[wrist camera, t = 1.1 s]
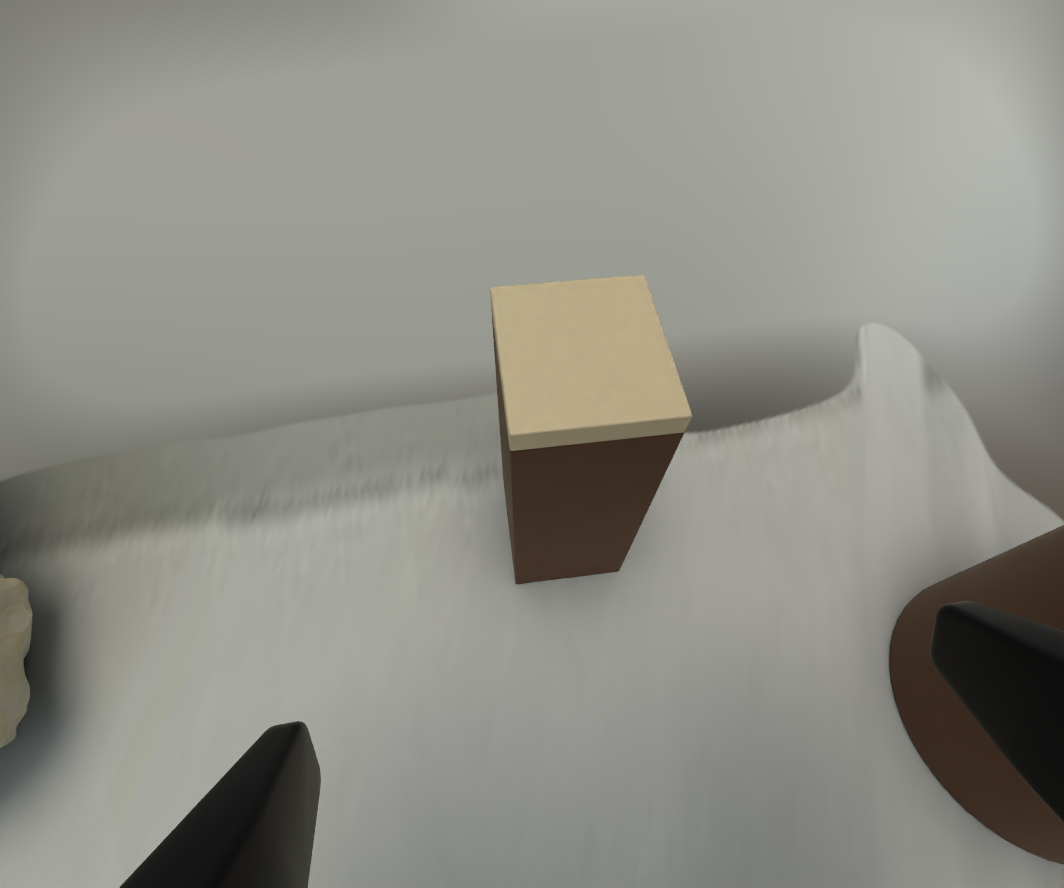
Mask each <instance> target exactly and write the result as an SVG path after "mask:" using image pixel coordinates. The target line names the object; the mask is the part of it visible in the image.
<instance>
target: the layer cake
mask: <svg viewBox="0 0 1064 888" xmlns="http://www.w3.org/2000/svg"><path fill="white" fill-rule="evenodd" d="M962 601H973V602H977V603H980V604H983V605H986V606H989V607H992V608H995V609H998V610H1002V611H1005V612H1008V613H1011V614H1014V615H1017V616H1020V617H1023V618H1027V619H1030V620H1033V621H1036V622H1039V623H1042V624H1045V625H1048V626H1051V627H1055V628H1058V629H1061V630H1064V525H1063V526H1061V527H1058V528H1056V529H1054V530H1052V531H1050V532H1048V533H1045V534H1043V535H1041V536H1039V537H1037V538H1034V539H1032V540H1030V541H1028V542H1026V543H1023V544H1021V545H1019V546H1017V547H1015V548H1012V549H1010V550H1008V551H1006V552H1004V553H1002V554H999V555H997V556H995V557H993V558H991V559H988V560H986V561H984V562H982V563H980V564H977V565H975V566H973V567H971V568H969V569H966V570H964V571H962V572H960V573H958V574H955V575H953V576H951V577H949V578H947V579H945V580H942V581H940V582H938V583H936V584H934V585H932V586H930V587H928V588H926V589H924V590H923V591H922V592H920V593H919V594H918V595H917V596H915V597H914V598H913V599H912V600H911V601H910V603H909V604H908V605H907V606H906V607H905V609H904V611H903V612H902V614H901V616H900V617H899V619H898V622H897V624H896V627H895V630H894V633H893V637H892V643H891V649H890V670H891V681H892V686H893V690H894V695H895V699H896V702H897V705H898V708H899V711H900V714H901V717H902V719H903V722H904V724H905V726H906V728H907V731H908V733H909V735H910V737H911V739H912V741H913V742H914V744H915V746H916V748H917V749H918V751H919V753H920V755H921V756H922V758H923V759H924V761H925V762H926V763H927V765H928V766H929V768H930V769H931V771H932V772H933V773H934V775H935V776H936V777H937V778H938V780H939V781H940V782H941V783H942V784H943V786H944V787H945V788H946V789H947V790H948V791H949V793H950V794H951V795H952V796H953V797H954V798H955V799H956V800H957V801H958V802H959V803H960V804H961V805H962V806H963V807H964V808H965V809H966V810H967V811H969V812H970V813H971V814H972V815H973V816H975V817H976V818H977V819H978V820H979V821H981V822H982V823H983V824H984V825H986V826H987V827H988V828H990V829H991V830H993V831H994V832H996V833H997V834H998V835H1000V836H1001V837H1003V838H1004V839H1006V840H1007V841H1009V842H1011V843H1013V844H1015V845H1016V846H1018V847H1020V848H1022V849H1024V850H1026V851H1028V852H1030V853H1032V854H1035V855H1037V856H1040V857H1042V858H1044V859H1047V860H1050V861H1053V862H1057V863H1060V864H1064V823H1063V822H1062V821H1061V820H1060V819H1059V818H1058V817H1057V815H1056V814H1055V813H1054V812H1053V811H1052V810H1051V809H1050V808H1049V807H1048V806H1047V805H1046V803H1045V802H1044V801H1043V800H1042V799H1041V798H1040V797H1039V796H1038V795H1037V794H1036V792H1035V791H1034V790H1033V789H1032V788H1031V787H1030V786H1029V785H1028V783H1027V782H1026V781H1025V780H1024V779H1023V778H1022V777H1021V775H1020V774H1019V773H1018V772H1017V771H1016V770H1015V768H1014V767H1013V766H1012V765H1011V764H1010V762H1009V761H1008V760H1007V759H1006V757H1005V756H1004V755H1003V754H1002V753H1001V751H1000V750H999V749H998V747H997V746H996V745H995V744H994V742H993V741H992V740H991V738H990V737H989V736H988V735H987V733H986V732H985V731H984V730H983V728H982V727H981V726H980V724H979V723H978V722H977V721H976V719H975V718H974V717H973V715H972V714H971V713H970V712H969V710H968V709H967V708H966V707H965V705H964V704H963V703H962V701H961V700H960V699H959V698H958V696H957V695H956V694H955V692H954V691H953V690H952V689H951V687H950V686H949V685H948V684H947V682H946V681H945V680H944V678H943V677H942V676H941V675H940V673H939V672H938V671H937V669H936V668H935V666H934V664H933V662H932V660H931V657H930V645H931V639H932V634H933V628H934V622H935V617H936V613H937V610H938V609H939V608H940V607H941V606H943V605H946V604H951V603H956V602H962Z"/></svg>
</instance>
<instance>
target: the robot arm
mask: <svg viewBox="0 0 1064 888" xmlns="http://www.w3.org/2000/svg"><path fill="white" fill-rule="evenodd" d="M930 657H931V660H932V662H933V664H934V666H935V668H936V669H937V671H938V672H939V673H940V675H941V676H942V677H943V678H944V680H945V681H946V682H947V684H948V685H949V686H950V687H951V689H952V690H953V691H954V692H955V694H956V695H957V696H958V698H959V699H960V700H961V701H962V703H963V704H964V705H965V707H966V708H967V709H968V710H969V712H970V713H971V714H972V715H973V717H974V718H975V719H976V721H977V722H978V723H979V724H980V726H981V727H982V728H983V730H984V731H985V732H986V733H987V735H988V736H989V737H990V738H991V740H992V741H993V742H994V744H995V745H996V746H997V747H998V749H999V750H1000V751H1001V753H1002V754H1003V755H1004V756H1005V757H1006V759H1007V760H1008V761H1009V762H1010V764H1011V765H1012V766H1013V767H1014V768H1015V770H1016V771H1017V772H1018V773H1019V774H1020V775H1021V777H1022V778H1023V779H1024V780H1025V781H1026V782H1027V783H1028V785H1029V786H1030V787H1031V788H1032V789H1033V790H1034V791H1035V792H1036V794H1037V795H1038V796H1039V797H1040V798H1041V799H1042V800H1043V801H1044V802H1045V803H1046V805H1047V806H1048V807H1049V808H1050V809H1051V810H1052V811H1053V812H1054V813H1055V814H1056V815H1057V817H1058V818H1059V819H1060V820H1061V821H1062V822H1063V823H1064V630H1061V629H1058V628H1055V627H1051V626H1048V625H1045V624H1042V623H1039V622H1036V621H1033V620H1030V619H1027V618H1023V617H1020V616H1017V615H1014V614H1011V613H1008V612H1005V611H1002V610H998V609H995V608H992V607H989V606H986V605H983V604H980V603H977V602H973V601H962V602H956V603H951V604H946V605H943V606H941V607H940V608H939V609H938V610H937V613H936V617H935V622H934V628H933V634H932V639H931V645H930ZM320 784H321V776H320V767H319V763H318V760H317V757H316V754H315V750H314V747H313V744H312V741H311V737H310V734H309V731H308V728H307V726H306V725H305V723H303V722H300V721H297V722H291V723H286V724H280V725H275V726H272V727H270V728H269V729H268V730H266V731H265V732H264V733H263V734H262V736H261V737H260V738H259V739H258V740H257V741H256V742H255V743H254V744H253V745H252V746H251V747H250V748H249V749H248V751H247V752H246V753H245V754H244V755H243V756H242V757H241V758H240V759H239V760H238V761H237V762H236V763H235V764H234V766H233V767H232V768H231V769H230V770H229V771H228V772H227V773H226V774H225V775H224V776H223V777H222V778H221V779H220V780H219V782H218V783H217V784H216V785H215V786H214V787H213V788H212V789H211V790H210V791H209V792H208V793H207V794H206V795H205V797H204V798H203V799H202V800H201V801H200V802H199V803H198V804H197V805H196V806H195V807H194V808H193V809H192V810H191V812H190V813H189V814H188V815H187V816H186V817H185V818H184V819H183V820H182V821H181V822H180V823H179V824H178V825H177V827H176V828H175V829H174V830H173V831H172V832H171V833H170V834H169V835H168V836H167V837H166V838H165V839H164V840H163V841H162V843H161V844H160V845H159V846H158V847H157V848H156V849H155V850H154V851H153V852H152V853H151V854H150V855H149V856H148V858H147V859H146V860H145V861H144V862H143V863H142V864H141V865H140V866H139V867H138V868H137V869H136V870H135V871H134V873H133V874H132V875H131V876H130V877H129V878H128V879H127V880H126V881H125V882H124V883H123V884H122V885H121V886H120V888H308V880H309V872H310V864H311V856H312V849H313V841H314V833H315V825H316V817H317V809H318V801H319V794H320Z"/></svg>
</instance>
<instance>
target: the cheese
mask: <svg viewBox="0 0 1064 888" xmlns="http://www.w3.org/2000/svg"><path fill="white" fill-rule="evenodd" d="M32 615H33V613H32V610H31V607H30V604H29V600H28V588H27V586H26V584H25V583H24V582H22V581H21V580H20V579H17V578H4V577H3V576H2V575H1V574H0V749H1V748H2V747H3V746H5V745H7V744H8V743H10V742H12V741H13V740H14V738H15V737H16V726H17V725H18V724H19V722H20V721H21V719H22V718H23V716H24V715H25V713H26V711H27V704H28V701H29V699H30V686H29V683H28V681H27V679H26V676H25V672H24V664H23V659H24V658H25V656H26V655H27V653H28V651H29V648H30V641H31V629H32Z"/></svg>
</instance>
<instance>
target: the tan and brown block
mask: <svg viewBox="0 0 1064 888" xmlns="http://www.w3.org/2000/svg"><path fill="white" fill-rule="evenodd" d="M490 295H491V307H492V323H493V338H494V351H495V365H496V380H497V394H498V408H499V423H500V437H501V451H502V465H503V479H504V488H505V497H506V505H507V514H508V522H509V531H510V539H511V548H512V556H513V565H514V573H515V582H516V584H521V583H529V582H536V581H544V580H552V579H560V578H568V577H576V576H584V575H592V574H600V573H607V572H615V571H619V570H620V568H621V565H622V563H623V561H624V559H625V557H626V555H627V553H628V551H629V549H630V546H631V544H632V542H633V540H634V538H635V536H636V534H637V532H638V529H639V527H640V525H641V523H642V521H643V519H644V517H645V515H646V513H647V510H648V508H649V506H650V504H651V502H652V500H653V498H654V496H655V494H656V491H657V489H658V487H659V485H660V483H661V481H662V479H663V477H664V475H665V472H666V470H667V468H668V466H669V464H670V462H671V460H672V458H673V455H674V453H675V451H676V449H677V447H678V445H679V443H680V441H681V439H682V436H683V434H684V432H685V430H686V428H687V426H688V424H689V422H690V420H691V417H692V413H691V410H690V407H689V404H688V401H687V398H686V396H685V393H684V390H683V387H682V384H681V381H680V378H679V375H678V372H677V370H676V366H675V363H674V360H673V358H672V355H671V352H670V349H669V346H668V343H667V340H666V337H665V334H664V331H663V328H662V325H661V322H660V319H659V316H658V314H657V311H656V308H655V305H654V302H653V299H652V296H651V293H650V290H649V287H648V284H647V281H646V279H645V276H644V275H634V276H633V275H632V276H620V277H609V278H597V279H585V280H573V281H562V282H549V283H537V284H525V285H513V286H502V287H492V288H491V289H490Z"/></svg>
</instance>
